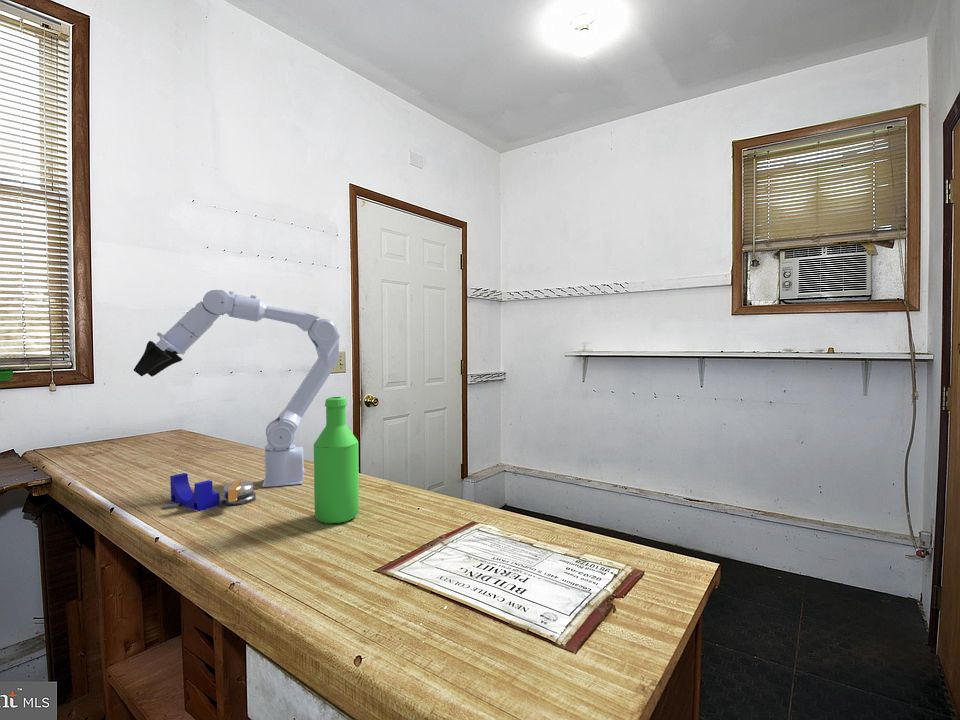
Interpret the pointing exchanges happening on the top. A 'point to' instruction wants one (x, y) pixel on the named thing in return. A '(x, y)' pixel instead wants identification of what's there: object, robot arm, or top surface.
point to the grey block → (170, 505)
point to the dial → (238, 490)
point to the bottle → (336, 467)
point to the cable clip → (198, 499)
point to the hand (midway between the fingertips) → (143, 373)
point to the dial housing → (239, 500)
